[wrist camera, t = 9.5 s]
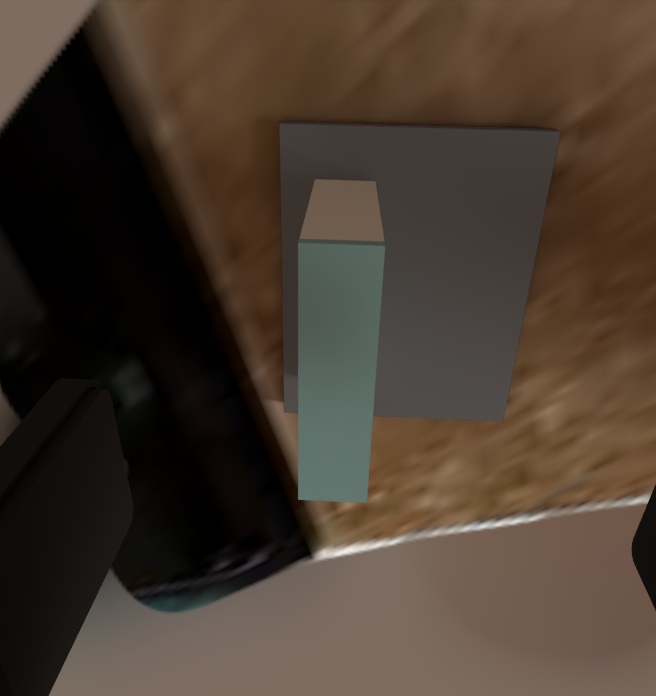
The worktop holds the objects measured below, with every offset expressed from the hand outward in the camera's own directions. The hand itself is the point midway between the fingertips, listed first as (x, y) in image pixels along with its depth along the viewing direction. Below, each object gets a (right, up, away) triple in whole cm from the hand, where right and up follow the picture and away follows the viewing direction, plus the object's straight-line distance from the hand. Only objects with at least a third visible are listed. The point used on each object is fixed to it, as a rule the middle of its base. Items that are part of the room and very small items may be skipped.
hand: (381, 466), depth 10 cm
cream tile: (0, +4, +9) cm, 10 cm away
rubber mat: (+2, +4, +10) cm, 11 cm away
